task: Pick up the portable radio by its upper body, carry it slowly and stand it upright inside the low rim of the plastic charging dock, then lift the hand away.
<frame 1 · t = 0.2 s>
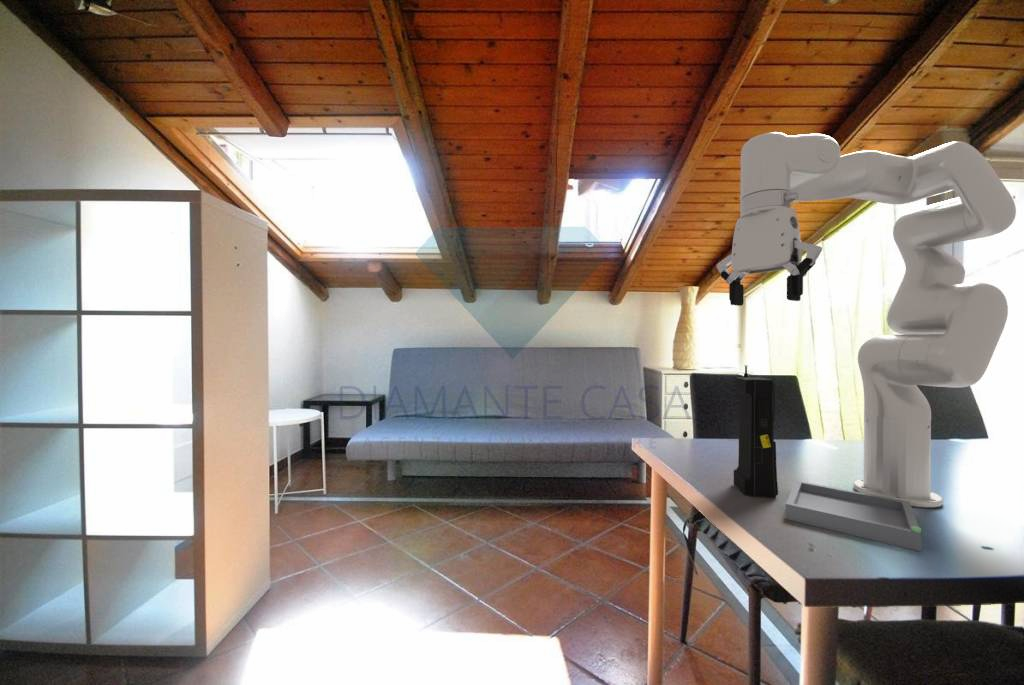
hand: (763, 302, 72), 37 cm above the table, tool pointing down, fingers open, 9 cm apart
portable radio: (756, 493, 79), on the table
charging dock: (848, 517, 68), on the table
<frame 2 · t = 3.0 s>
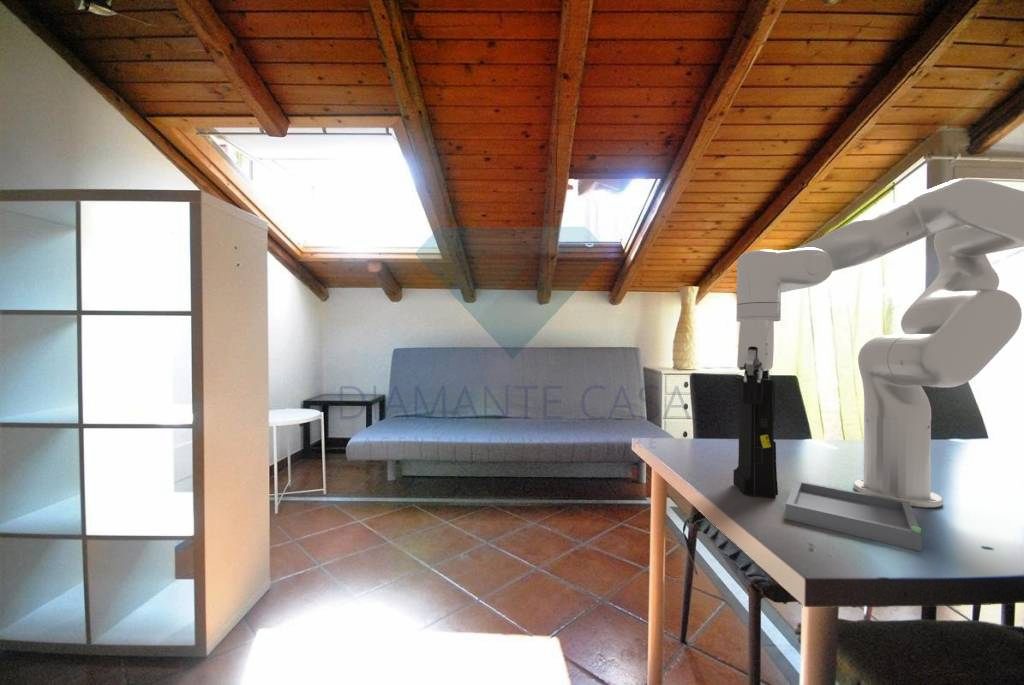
hand: (757, 401, 80), 18 cm above the table, tool pointing down, fingers closed on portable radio, 8 cm apart
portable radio: (756, 493, 79), on the table, touching gripper
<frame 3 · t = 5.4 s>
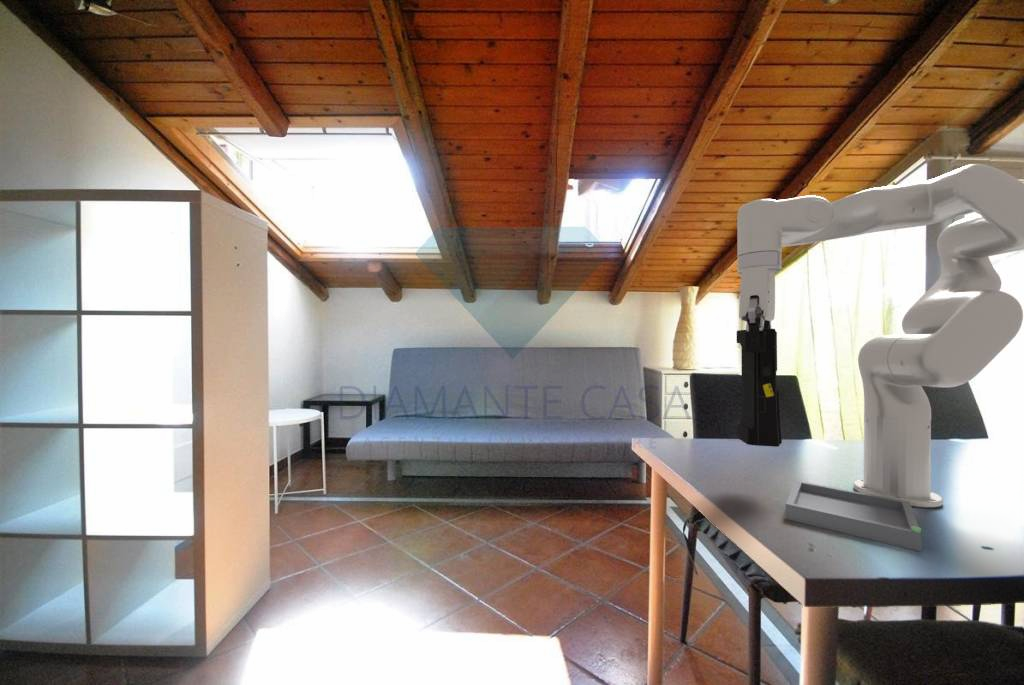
hand: (759, 352, 80), 28 cm above the table, tool pointing down, fingers closed on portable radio, 8 cm apart
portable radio: (759, 443, 80), point 10 cm above the table, touching gripper
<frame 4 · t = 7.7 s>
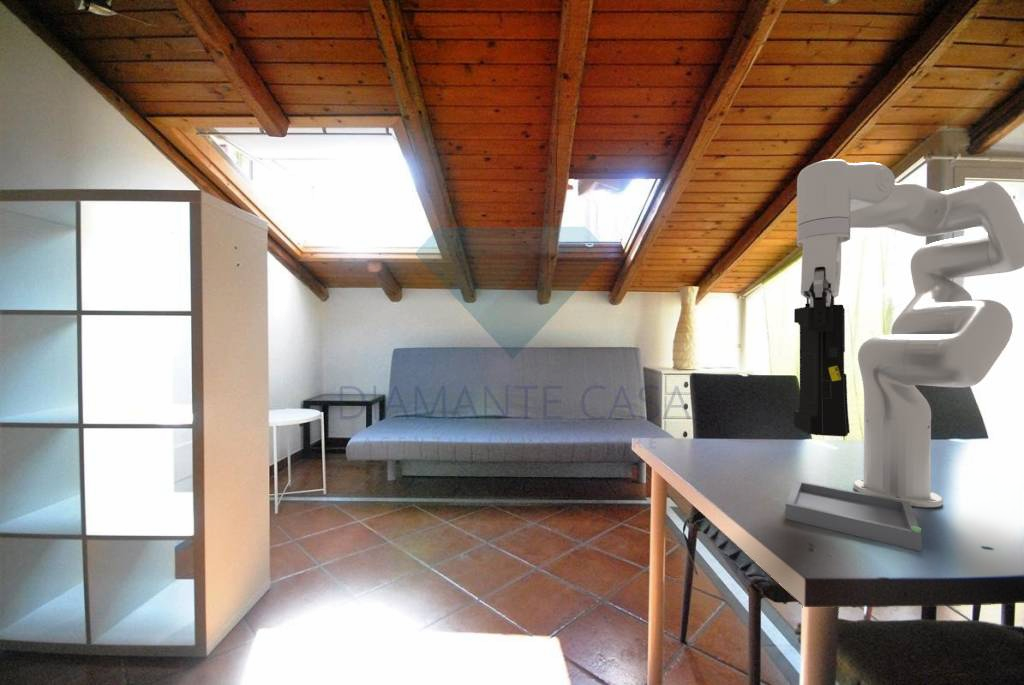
hand: (822, 331, 71), 32 cm above the table, tool pointing down, fingers closed on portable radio, 8 cm apart
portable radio: (822, 433, 71), point 13 cm above the table, touching gripper
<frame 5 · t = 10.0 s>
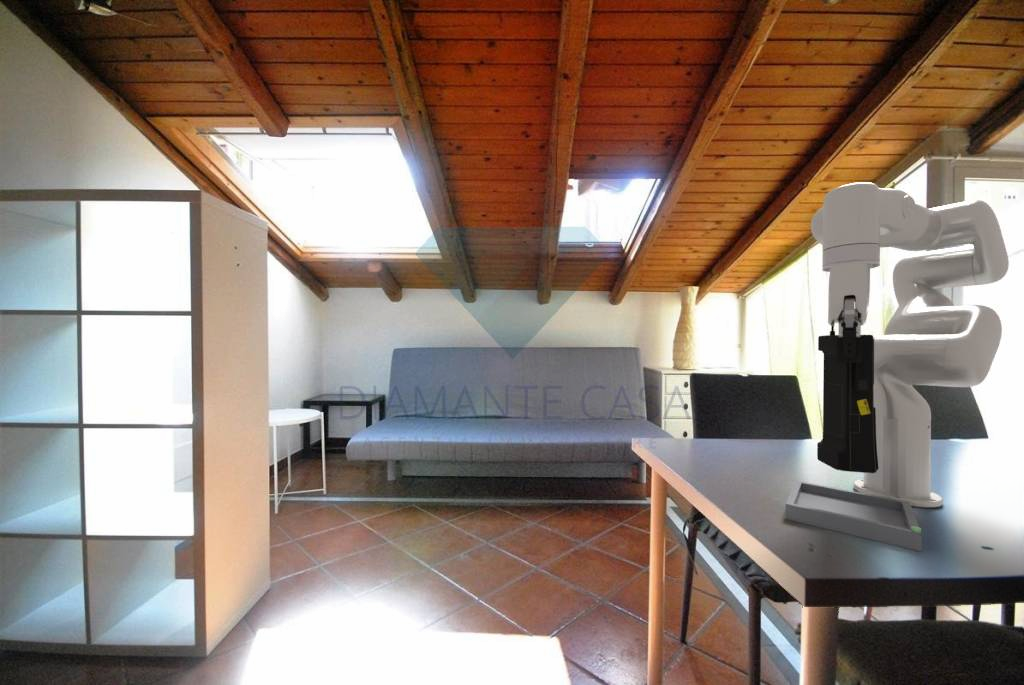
hand: (849, 361, 68), 26 cm above the table, tool pointing down, fingers closed on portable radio, 8 cm apart
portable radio: (848, 468, 68), point 8 cm above the table, touching gripper
when the fingers open (19 cm above the table, at t = 12.2 s): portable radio stays where it is, resting on charging dock.
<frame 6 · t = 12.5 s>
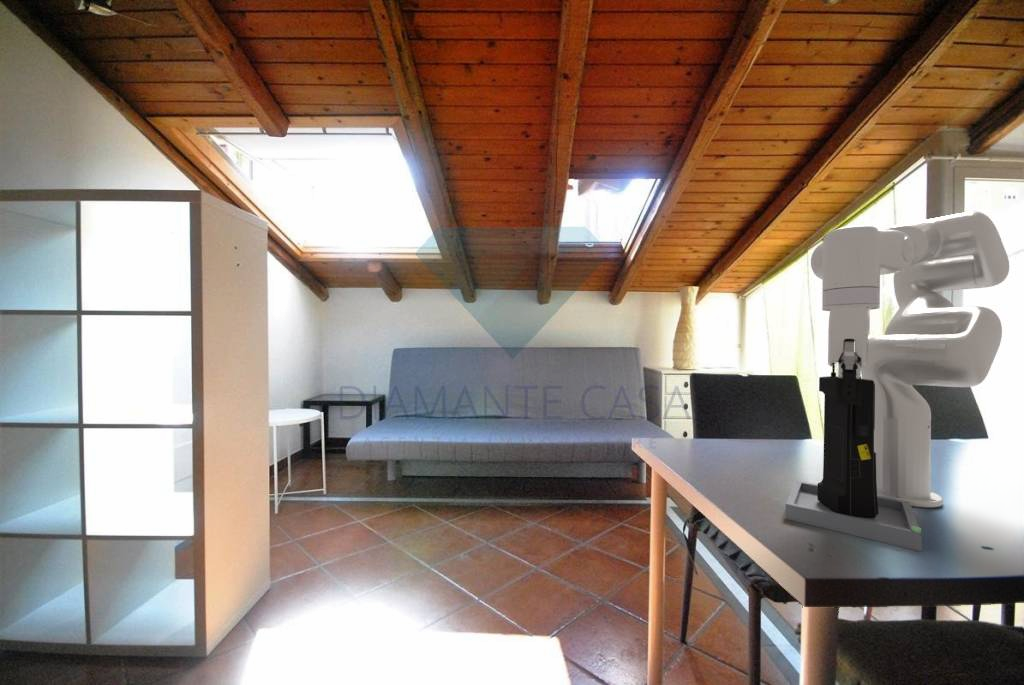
hand: (849, 401, 68), 20 cm above the table, tool pointing down, fingers open, 9 cm apart
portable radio: (848, 511, 68), point 1 cm above the table, touching charging dock, gripper
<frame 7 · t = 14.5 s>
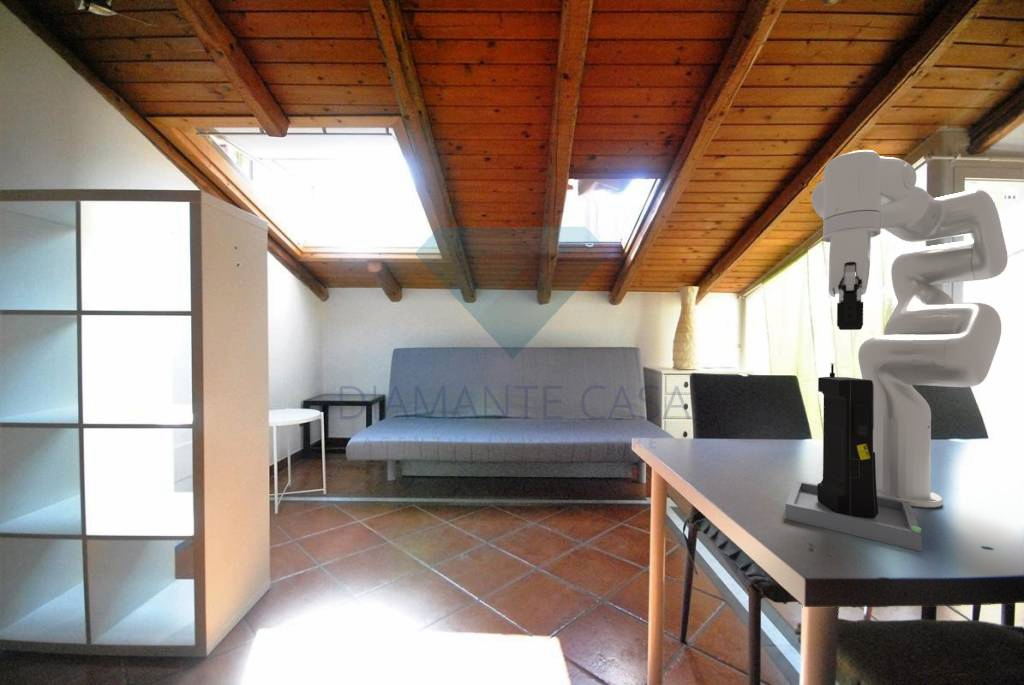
hand: (850, 328, 68), 32 cm above the table, tool pointing down, fingers open, 9 cm apart
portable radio: (848, 511, 68), point 1 cm above the table, touching charging dock
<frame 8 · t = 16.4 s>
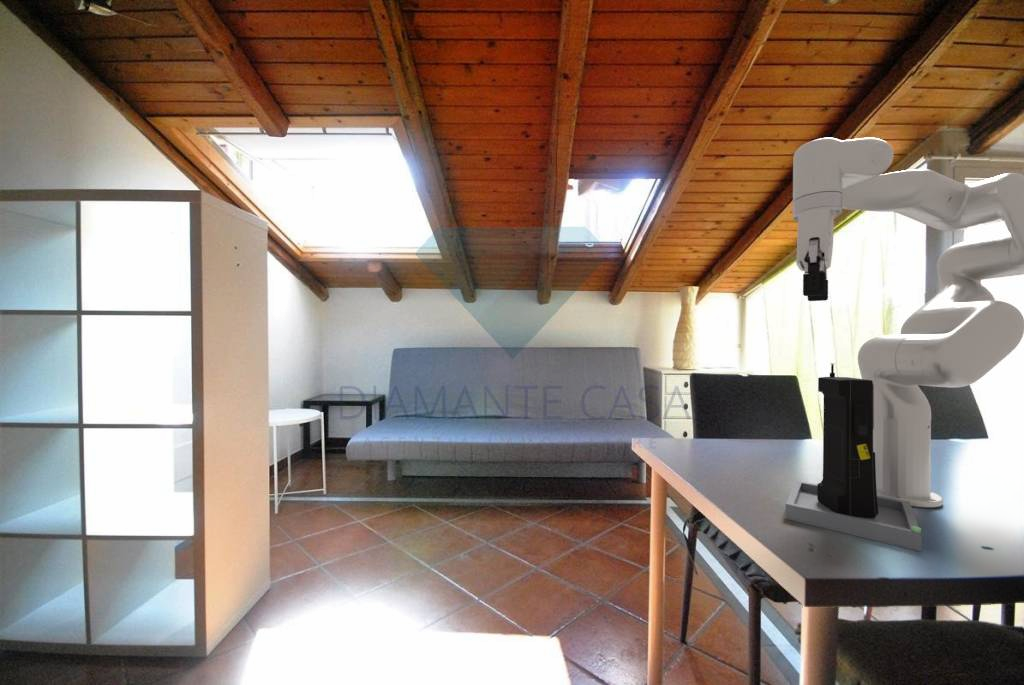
hand: (815, 298, 76), 38 cm above the table, tool pointing down, fingers open, 9 cm apart
nothing on the table moved.
at the end: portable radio inside the target area on the charging dock (0.6 cm from its centre), point 0.8 cm above the charging dock's base; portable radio tilted 0°; the gripper is holding nothing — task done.
